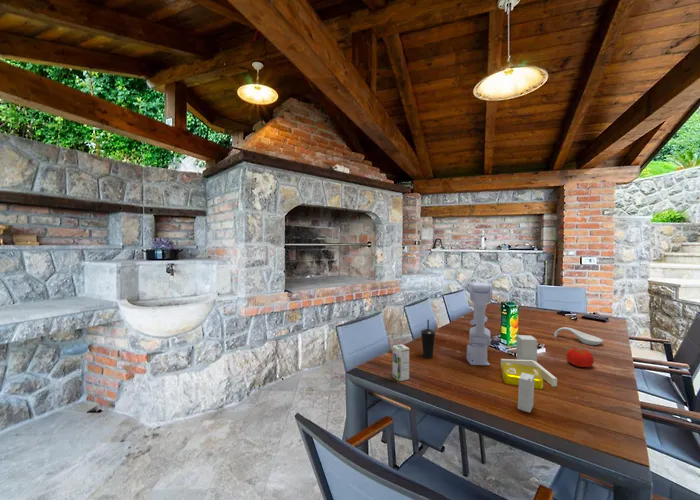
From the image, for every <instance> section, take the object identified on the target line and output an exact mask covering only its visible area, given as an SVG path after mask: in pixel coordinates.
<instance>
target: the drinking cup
mask: <svg viewBox="0 0 700 500" xmlns="http://www.w3.org/2000/svg"><path fill="white" fill-rule="evenodd" d="M429 321H430V320H429V319H427V323H426V325H427V327H426V328H425V329H421V330H420V334H421V344H422V355H423V358H424V359H433V357H434V346H435V337H436V331H435V330H434V329H431V328H430V322H429Z"/></svg>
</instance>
